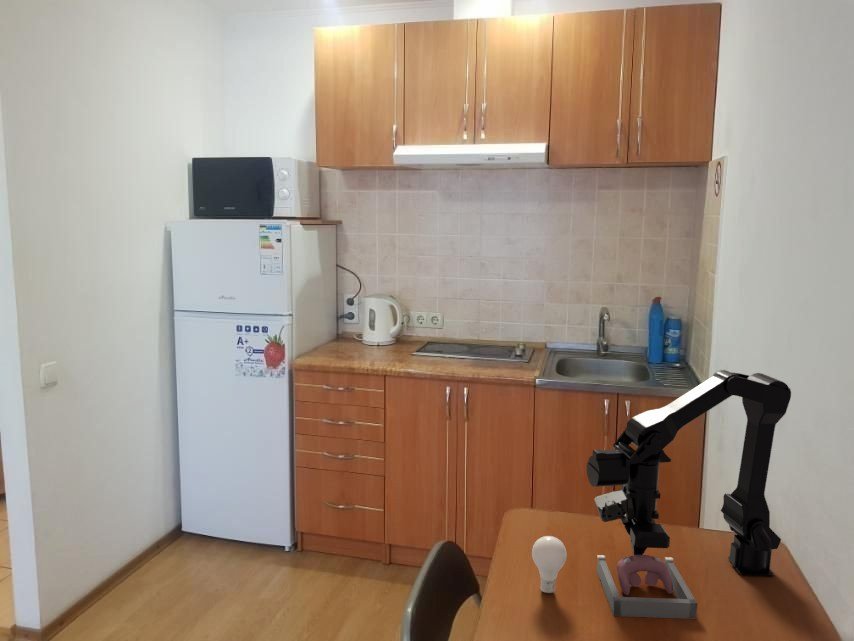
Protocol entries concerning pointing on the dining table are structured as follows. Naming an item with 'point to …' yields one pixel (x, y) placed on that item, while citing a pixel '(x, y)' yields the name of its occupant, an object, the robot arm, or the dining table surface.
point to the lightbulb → (548, 560)
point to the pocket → (649, 606)
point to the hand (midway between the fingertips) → (636, 557)
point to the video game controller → (643, 563)
